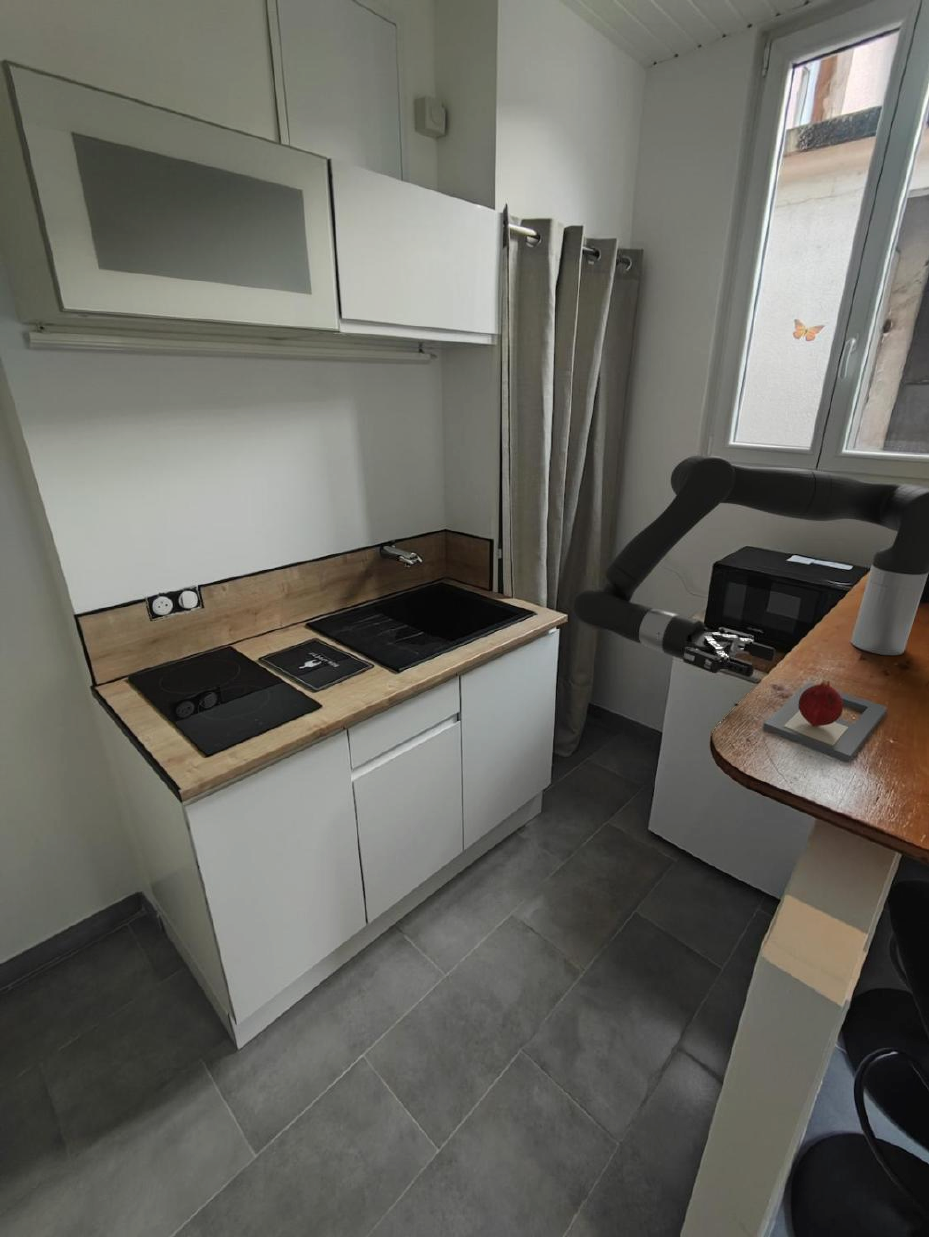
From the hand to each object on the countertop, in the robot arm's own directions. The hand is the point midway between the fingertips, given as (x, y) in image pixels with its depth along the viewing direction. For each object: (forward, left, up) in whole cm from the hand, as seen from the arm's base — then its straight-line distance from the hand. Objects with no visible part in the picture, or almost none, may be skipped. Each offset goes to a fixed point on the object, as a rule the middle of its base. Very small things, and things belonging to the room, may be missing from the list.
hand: (763, 662), depth 92 cm
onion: (0, +9, -8) cm, 12 cm away
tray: (-6, +9, -9) cm, 14 cm away
